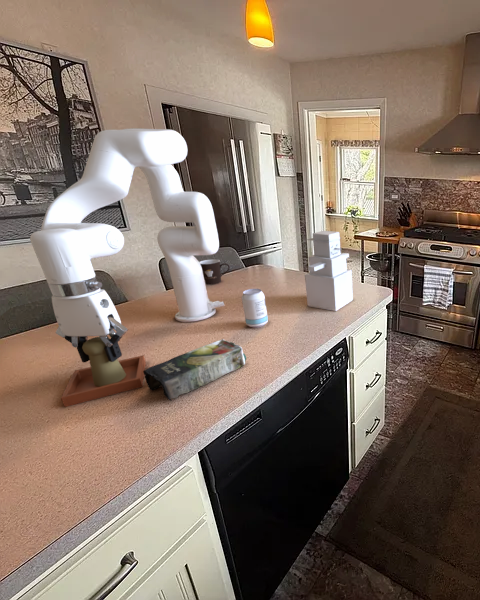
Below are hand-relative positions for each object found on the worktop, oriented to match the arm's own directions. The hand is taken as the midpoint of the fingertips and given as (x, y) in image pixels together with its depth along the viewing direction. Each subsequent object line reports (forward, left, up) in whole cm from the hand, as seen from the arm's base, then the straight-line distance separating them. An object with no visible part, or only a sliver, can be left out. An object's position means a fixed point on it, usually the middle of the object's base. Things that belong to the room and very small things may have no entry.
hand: (102, 358), depth 77 cm
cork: (0, 0, -6) cm, 6 cm away
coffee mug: (-30, -75, -7) cm, 81 cm away
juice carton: (-19, +9, -7) cm, 22 cm away
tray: (0, 0, -7) cm, 7 cm away
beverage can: (-37, -16, -7) cm, 40 cm away
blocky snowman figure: (-65, -21, -7) cm, 69 cm away
